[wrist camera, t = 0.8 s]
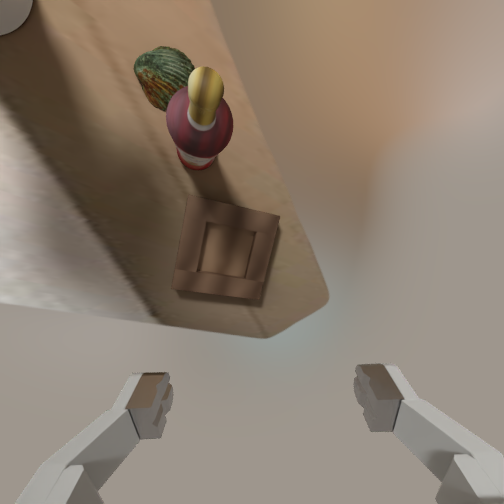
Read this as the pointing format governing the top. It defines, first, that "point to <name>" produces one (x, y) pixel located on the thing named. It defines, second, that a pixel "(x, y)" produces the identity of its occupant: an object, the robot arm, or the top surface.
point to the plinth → (223, 249)
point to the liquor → (200, 119)
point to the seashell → (163, 74)
